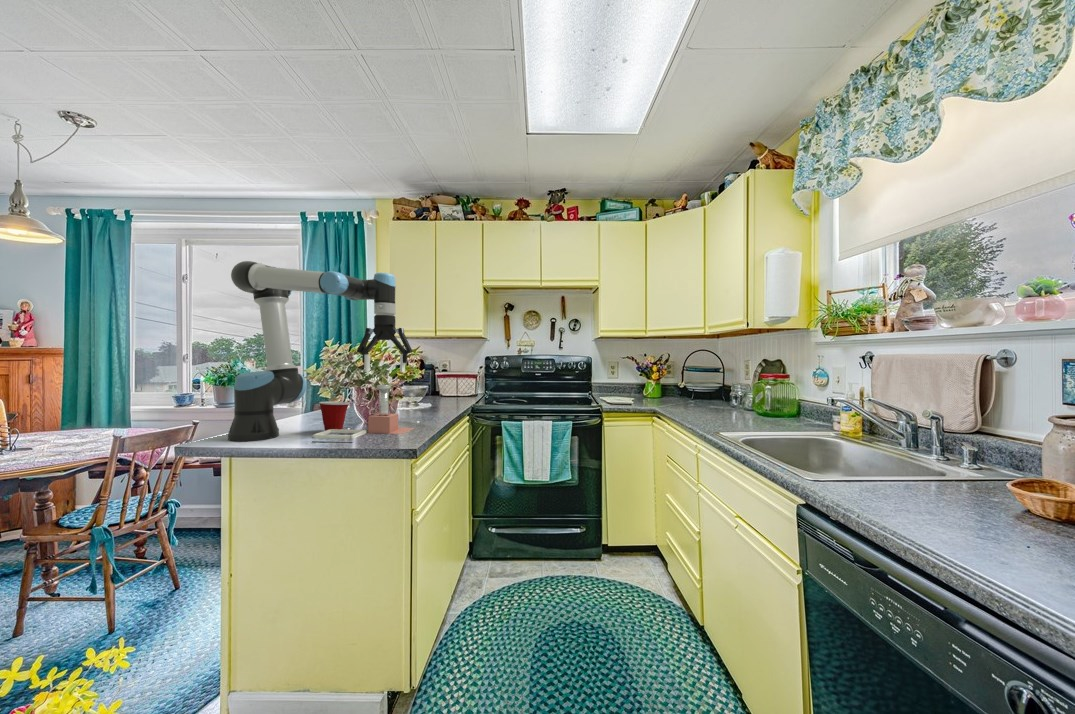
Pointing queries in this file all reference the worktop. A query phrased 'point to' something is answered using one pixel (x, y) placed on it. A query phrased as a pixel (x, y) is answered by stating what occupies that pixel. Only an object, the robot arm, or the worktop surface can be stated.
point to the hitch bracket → (385, 424)
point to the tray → (322, 435)
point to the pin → (383, 399)
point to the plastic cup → (333, 414)
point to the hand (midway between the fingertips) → (384, 372)
